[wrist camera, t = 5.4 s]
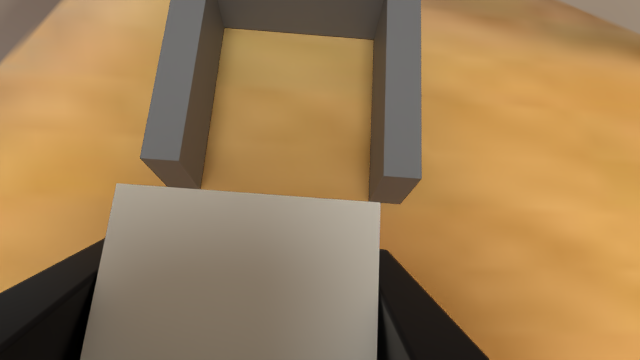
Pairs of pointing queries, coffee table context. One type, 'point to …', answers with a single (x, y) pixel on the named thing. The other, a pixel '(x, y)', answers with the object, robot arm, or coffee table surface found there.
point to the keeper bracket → (292, 17)
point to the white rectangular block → (235, 277)
